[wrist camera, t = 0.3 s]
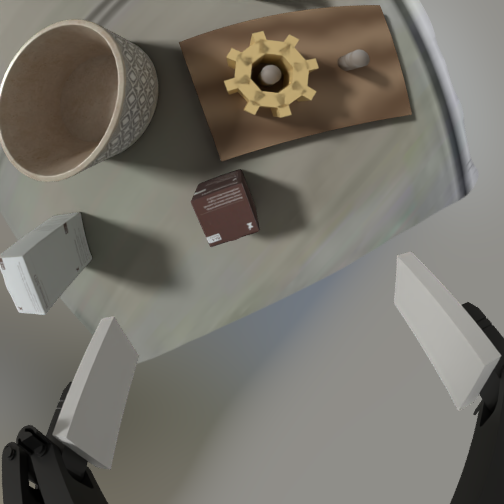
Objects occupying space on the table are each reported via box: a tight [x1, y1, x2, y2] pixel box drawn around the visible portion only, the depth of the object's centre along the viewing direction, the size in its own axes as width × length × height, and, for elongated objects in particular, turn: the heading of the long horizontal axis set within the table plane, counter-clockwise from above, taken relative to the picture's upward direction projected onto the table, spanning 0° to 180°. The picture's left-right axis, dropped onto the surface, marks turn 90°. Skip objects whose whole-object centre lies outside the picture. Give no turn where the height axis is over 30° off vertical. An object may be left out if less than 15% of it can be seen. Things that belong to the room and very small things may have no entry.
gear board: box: [179, 5, 412, 162], centre depth 27 cm, size 16×26×7 cm, turn 107°
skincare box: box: [0, 212, 92, 315], centre depth 32 cm, size 8×6×15 cm
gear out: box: [224, 31, 319, 118], centre depth 26 cm, size 9×9×6 cm
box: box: [191, 169, 260, 247], centre depth 34 cm, size 6×6×7 cm
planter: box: [0, 19, 158, 182], centre depth 24 cm, size 16×16×13 cm
